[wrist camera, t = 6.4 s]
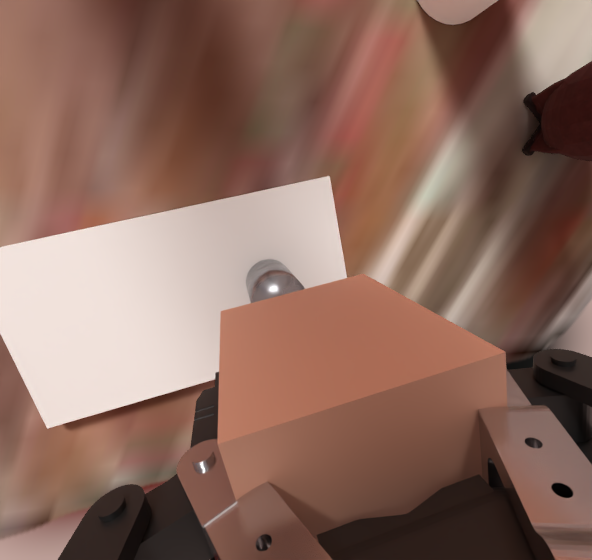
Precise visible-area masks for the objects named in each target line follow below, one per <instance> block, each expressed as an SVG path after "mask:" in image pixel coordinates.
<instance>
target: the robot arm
mask: <svg viewBox="0 0 592 560" xmlns="http://www.w3.org/2000/svg"><path fill="white" fill-rule="evenodd" d="M506 380H507V406H504V407H488V408H482V409H478V418H479V433H480V448H481V464H482V477H481V476H480V475H479V474H478V475H475V476H473V477H470V478H467V479H465V480H462V481H459V482H457V483H454V484H451V485H449V486H446V487H443V488H441V489H440V490H438V491H437V492H436V493H434V494H433V495H432V496H430V497H429V498H428V499H426V500H425V501H424V502H422V503H421V504H420V505H419V506H417V507H416V508H415V509H413V510H412V511H411V512H409V513H407V514H403V515H394V516H385V517H375V518H365V519H358V520H355V521H353V522H350V523H347V524H345V525H342V526H339V527H337V528H334V529H331V530H329V531H326V532H323V533H321V534H318V535H317V539H318V541H317V540H316V539H315V538H314V537H313V535H312V534H311V533H310V532H309V531H308V529H307V528H306V527H305V526H304V525H303V523H302V522H301V521H300V520H299V518H298V517H297V516H296V515H295V514H294V512H293V511H292V510H291V509H290V508H289V506H288V505H287V504H286V503H285V502H284V500H283V499H282V498H281V497H280V496H279V494H278V493H277V492H276V491H275V490H274V488H273V487H272V486H271V485H270V484H269V483H268V482H265V483H263V484H261V485H259V486H257V487H255V488H254V489H252V490H250V491H249V492H247V493H246V494H244V495H243V496H241V497H240V498H239V499H237V500H236V499H235V496H234V493H233V490H232V487H231V484H230V481H229V478H228V475H227V472H226V469H225V466H224V463H223V460H222V456H221V453H220V450H219V447H218V444H217V442H218V399H219V372H216V373H215V387H214V388H210V389H207V390H204V391H203V392H202V394H201V395H200V397H199V398H198V399H197V401H196V409H195V411H196V413H195V417H194V420H195V421H194V425H193V432H192V440H191V448H190V449H189V450H188V451H187V452H186V453H185V454H184V455H183V456H182V457H181V459H180V461H179V463H178V465H177V474H176V475H175V476H174V477H172V478H171V479H170V480H168V481H167V482H165V483H164V484H162V485H160V486H158V487H157V488H155V489H153V490H152V491H150V492H149V493H146V494H145V493H144V490H143V489H142V488H141V487H140V486H138V485H133V484H130V485H124V486H121V487H118V488H116V489H114V490H112V491H110V492H109V493H107V494H105V495H104V496H103V497H101V498H100V499H99V500H98V501H96V502H95V503H94V504H93V505H92V506H91V508H90V509H89V510H88V511H87V513H86V514H85V516H84V517H83V519H82V521H81V522H80V524H79V526H78V527H77V529H76V530H75V532H74V534H73V535H72V537H71V539H70V540H69V542H68V544H67V545H66V547H65V548H64V550H63V552H62V553H61V555H60V557H59V558H58V560H592V357H589V356H586V355H583V354H580V353H577V352H574V351H569V350H561V349H549V350H543V351H540V352H538V353H536V354H535V355H534V357H533V368H524V369H514V370H507V369H506Z"/></svg>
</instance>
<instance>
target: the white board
mask: <svg viewBox="0 0 592 560" xmlns="http://www.w3.org/2000/svg"><path fill="white" fill-rule="evenodd" d="M266 259H273V260H277V261H279V262H281V263H283V264H284V265H285V266H286V267H287V268H288V269H289V270H290V272H291V273H292V274H293V275H294V276H295V277H296V278H297V279H298V280H299V282H300V283H301V284H302V285H303V286H304V288H305V289H307V288H311V287H315V286H318V285H322V284H326V283H330V282H334V281H337V280H341V279H345V278H347V275H346V269H345V263H344V258H343V252H342V246H341V240H340V234H339V228H338V222H337V217H336V211H335V205H334V199H333V193H332V187H331V182H330V176H327V177H322V178H317V179H312V180H308V181H303V182H299V183H294V184H289V185H285V186H280V187H276V188H271V189H266V190H262V191H257V192H252V193H248V194H243V195H239V196H234V197H229V198H225V199H220V200H215V201H211V202H206V203H202V204H197V205H192V206H188V207H183V208H179V209H174V210H169V211H165V212H160V213H155V214H151V215H146V216H142V217H137V218H132V219H128V220H123V221H119V222H114V223H109V224H105V225H100V226H95V227H91V228H86V229H82V230H77V231H72V232H68V233H63V234H59V235H54V236H49V237H45V238H40V239H35V240H31V241H26V242H22V243H17V244H12V245H8V246H3V247H0V334H1V336H2V338H3V340H4V342H5V344H6V346H7V348H8V350H9V352H10V354H11V356H12V358H13V360H14V362H15V364H16V366H17V368H18V370H19V372H20V374H21V376H22V378H23V380H24V382H25V384H26V386H27V388H28V390H29V392H30V394H31V396H32V398H33V401H34V403H35V405H36V407H37V409H38V411H39V413H40V415H41V417H42V419H43V421H44V423H45V425H46V427H47V428H51V427H54V426H58V425H61V424H64V423H68V422H71V421H75V420H78V419H81V418H85V417H88V416H92V415H95V414H98V413H102V412H105V411H109V410H112V409H115V408H119V407H122V406H126V405H129V404H133V403H136V402H139V401H143V400H146V399H150V398H153V397H156V396H160V395H163V394H167V393H170V392H173V391H177V390H180V389H184V388H187V387H190V386H194V385H197V384H201V383H204V382H207V381H211V380H214V379H215V373H216V372H219V356H220V314H221V311H223V310H227V309H231V308H235V307H239V306H242V305H246V304H250V303H251V302H250V298H249V295H248V291H247V287H246V277H247V274H248V272H249V270H250V269H251V267H252V266H253V265H255V264H256V263H257V262H259V261H262V260H266Z"/></svg>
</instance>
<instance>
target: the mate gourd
mask: <svg viewBox="0 0 592 560" xmlns="http://www.w3.org/2000/svg"><path fill="white" fill-rule="evenodd" d="M524 103H525V105H526V106H527V107H528V108H529V110H530V111H531V112H532V113H533V114H534V115H535V117H536V118H537V119H538V120H539V122H540V126H539V127H538V128H537V130H536V131H535V133H534V134H533V135H532V137H531V138H530V139H529V141H528V142H527V143H526V145H525V146H524V148H523V149H522V151H523V153H524V154H525V155H532V154H533V153H534V152H535V151H538V152H543V153H551V154H552V153H556V154H562V155H565V156H568V157H572V158H575V159H580V160H586V161H592V61H591V62H590V63H588V64H586V65H585V66H583V67H582V68H580V69H578V70H577V71H575V72H573V73H572V74H570V75H569V76H568V77H567V78H565V79H563V80H561V81H558V82H556V83H554V84H553V85H551V86H549V87H548V88H546V89H545V90H543V91H542V92H541V93H539V94H537V95H536V94H535V93H534V92H532V93H530V94H528V95H527V96H526V97H525V99H524Z"/></svg>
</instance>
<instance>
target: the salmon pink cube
mask: <svg viewBox="0 0 592 560" xmlns="http://www.w3.org/2000/svg"><path fill="white" fill-rule="evenodd" d="M504 406H507V380H506V353H505V351H503V350H501V349H499V348H497V347H495V346H494V345H492V344H490V343H488V342H486V341H485V340H483V339H481V338H479V337H477V336H475V335H474V334H472V333H470V332H468V331H466V330H465V329H463V328H461V327H459V326H457V325H455V324H454V323H452V322H450V321H448V320H446V319H445V318H443V317H441V316H439V315H437V314H435V313H434V312H432V311H430V310H428V309H426V308H425V307H423V306H421V305H419V304H417V303H415V302H414V301H412V300H410V299H408V298H406V297H405V296H403V295H401V294H399V293H397V292H395V291H394V290H392V289H390V288H388V287H386V286H385V285H383V284H381V283H379V282H377V281H376V280H374V279H372V278H370V277H368V276H366V275H365V274H360V275H356V276H353V277H349V278H345V279H341V280H337V281H334V282H330V283H326V284H322V285H318V286H315V287H311V288H307V289H303V290H299V291H296V292H292V293H288V294H284V295H280V296H277V297H273V298H269V299H265V300H261V301H258V302H254V303H250V304H246V305H242V306H239V307H235V308H231V309H227V310H223V311H221V314H220V356H219V399H218V442H217V444H218V447H219V450H220V453H221V456H222V460H223V463H224V466H225V469H226V472H227V475H228V478H229V481H230V484H231V487H232V490H233V493H234V496H235V499H236V500H237V499H239V498H240V497H241V496H243V495H244V494H246V493H247V492H249V491H250V490H252V489H254V488H255V487H257V486H259V485H261V484H263V483H265V482H268V483H269V484H270V485H271V486H272V487H273V488H274V490H275V491H276V492H277V493H278V494H279V496H280V497H281V498H282V499H283V500H284V502H285V503H286V504H287V505H288V506H289V508H290V509H291V510H292V511H293V512H294V514H295V515H296V516H297V517H298V518H299V520H300V521H301V522H302V523H303V525H304V526H305V527H306V528H307V529H308V531H309V532H310V533H311V534H312V535H313V537H314V538H315V539H316V540H317V541H318V539H317V535H318V534H321V533H323V532H326V531H329V530H331V529H334V528H337V527H339V526H342V525H345V524H347V523H350V522H353V521H355V520H358V519H365V518H375V517H385V516H394V515H403V514H407V513H409V512H411V511H412V510H413V509H415V508H416V507H417V506H419V505H420V504H421V503H422V502H424V501H425V500H426V499H428V498H429V497H430V496H432V495H433V494H434V493H436V492H437V491H438V490H440V489H441V488H443V487H446V486H449V485H451V484H454V483H457V482H459V481H462V480H465V479H467V478H470V477H473V476H475V475H478V474H479V475H480V476H481V477H482V464H481V448H480V433H479V418H478V409H482V408H488V407H504Z"/></svg>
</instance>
